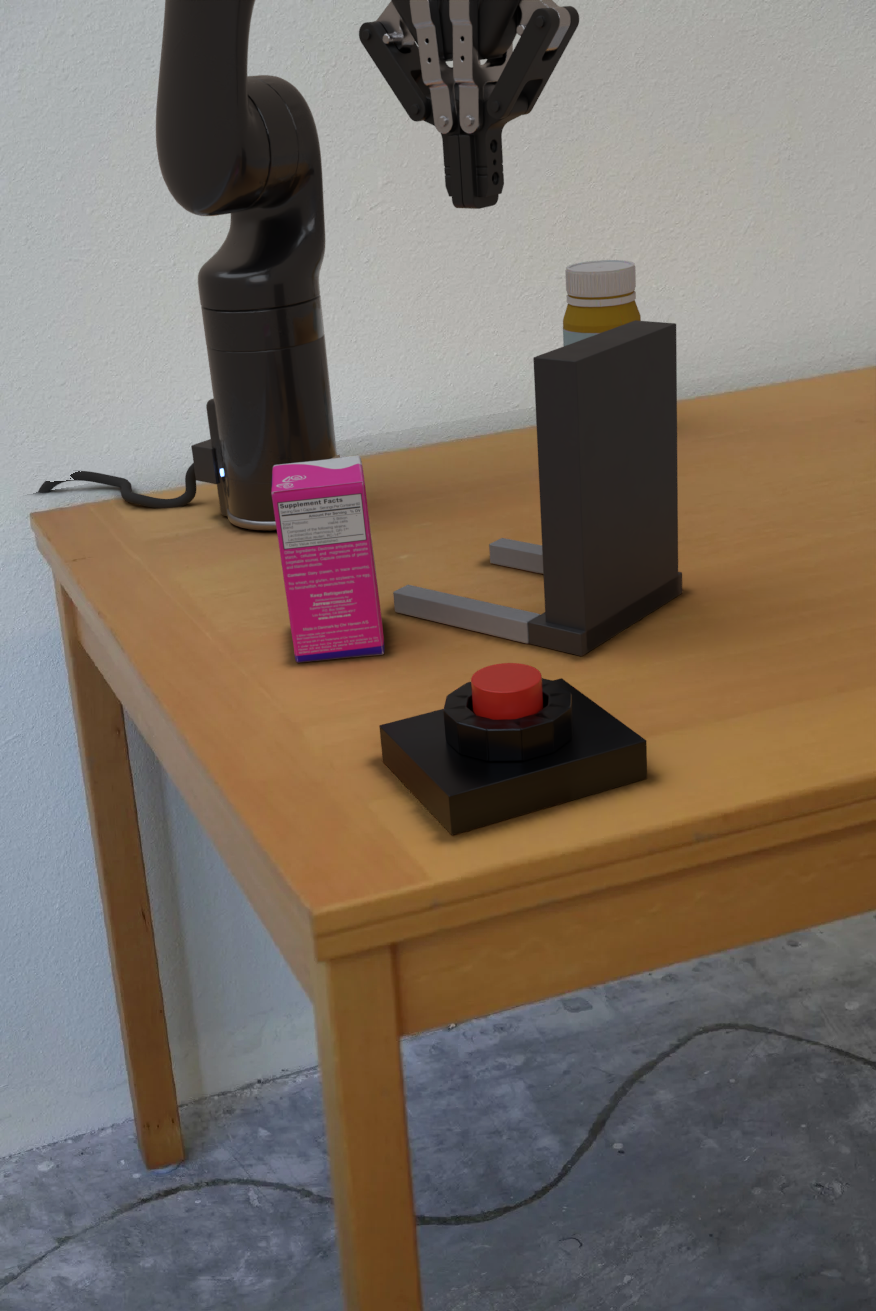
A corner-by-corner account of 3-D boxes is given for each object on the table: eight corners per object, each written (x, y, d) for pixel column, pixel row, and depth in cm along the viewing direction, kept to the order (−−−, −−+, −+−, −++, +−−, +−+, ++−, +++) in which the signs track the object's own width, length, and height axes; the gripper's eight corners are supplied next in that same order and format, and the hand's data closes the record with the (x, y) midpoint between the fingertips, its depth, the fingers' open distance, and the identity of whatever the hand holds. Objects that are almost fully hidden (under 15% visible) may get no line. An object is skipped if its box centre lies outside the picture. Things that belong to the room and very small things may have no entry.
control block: (452, 835, 72) (446, 762, 70) (382, 761, 79) (375, 694, 78) (647, 778, 75) (646, 708, 74) (563, 713, 83) (560, 648, 81)
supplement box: (292, 630, 97) (271, 461, 93) (381, 621, 98) (365, 453, 93) (291, 665, 92) (269, 488, 87) (385, 655, 92) (369, 479, 88)
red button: (491, 729, 74) (489, 698, 73) (461, 703, 77) (459, 672, 76) (555, 712, 75) (554, 681, 74) (523, 687, 78) (521, 657, 77)
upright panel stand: (394, 612, 99) (370, 343, 92) (503, 556, 107) (488, 307, 100) (580, 657, 90) (570, 363, 83) (683, 592, 98) (681, 321, 91)
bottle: (641, 419, 139) (639, 257, 133) (643, 439, 133) (640, 270, 127) (567, 422, 140) (561, 261, 134) (565, 442, 134) (559, 274, 128)
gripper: (611, -181, 70) (619, 198, 77) (399, -146, 78) (424, 195, 85) (518, -188, 65) (536, 220, 72) (301, -150, 73) (336, 214, 80)
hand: (475, 206), depth 78 cm, fingers closed
